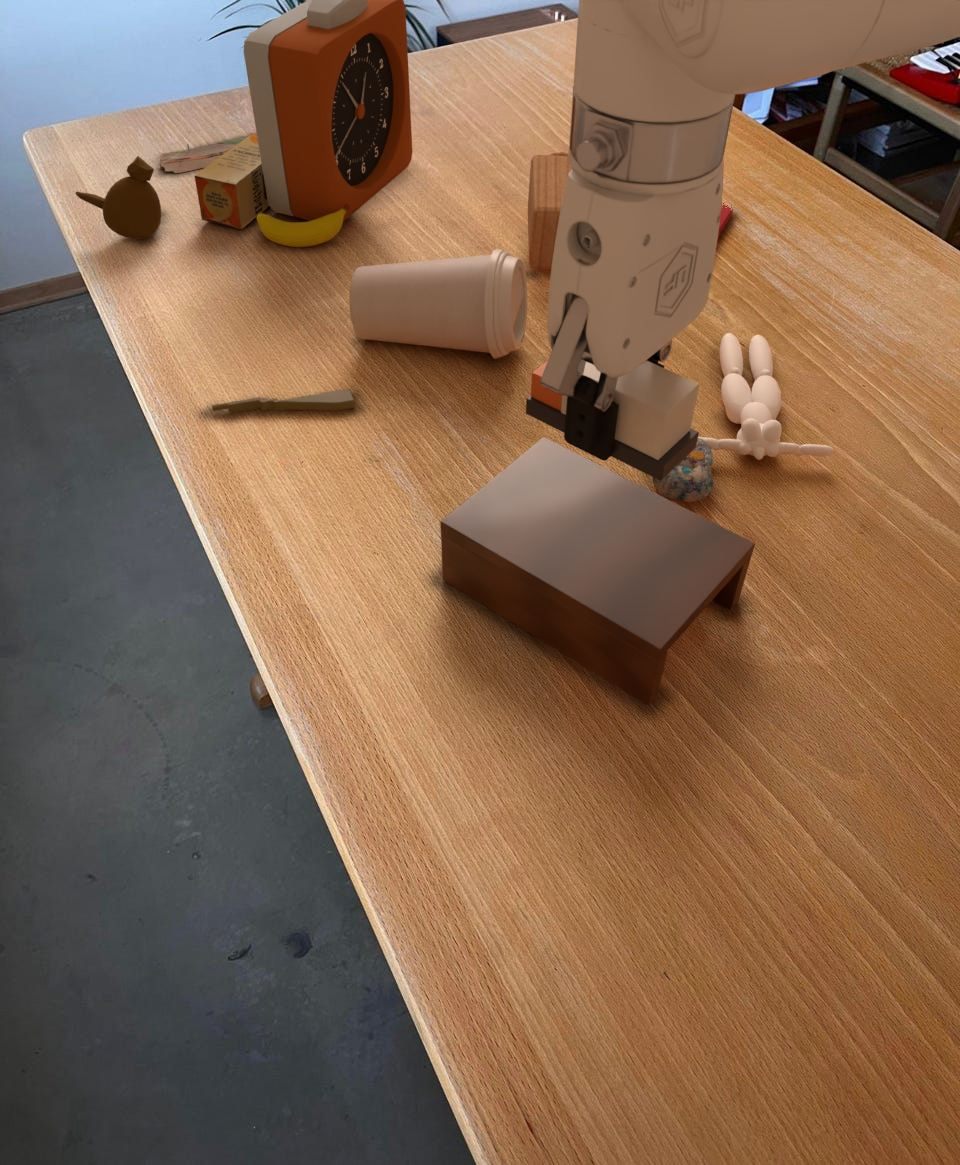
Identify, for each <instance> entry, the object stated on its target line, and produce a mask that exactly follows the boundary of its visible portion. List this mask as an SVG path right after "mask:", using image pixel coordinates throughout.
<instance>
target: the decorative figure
mask: <svg viewBox="0 0 960 1165" xmlns="http://www.w3.org/2000/svg"><path fill="white" fill-rule="evenodd" d="M743 357H744V356H743V351H742V347H741V345H740V342H739V340H738V338H737V336H736V335H734V334H733V333H731V332H727V333H725V334H724V335H723V336H722V338H721V341H720V344H719V364H720V368H721V373H722V375H723V379H722V382H721V386H720V394H721V400H722V403H723V406H724V408H725V415H726V417H727V419H728V420H729V421H730V422H731V423H733V424H737V425H741V426H740V429H739V430H738V432H737V434H736V439H735V438H720V439H716V438H714V437H705V436H698V438H700V439H702V440H704V441H705V442H707V443H708V445H709V446H710V447H711V450H714V451H716V452H717V451H720V450H722V451H730V452H731V451H733V452H734V451H735V452H739V454H740V455H744V456H746V455H749V456H753V457H754V458H755V459H756V460H757V461H760V460H762V459H763V458H764V457H769V458H775V457H777V456H778V455H779V454H780V455H796V456H798V457H802V456H803V455H804V456H811V457H829V456H831V455H833V453H834V451H835V450H834V448H833V447H832V446H830V445H826V444H814V443H805V444H801V445H800V444H798V443H795V442H786V441H785V442H781V438H780V437H781V435H782V433H783V432H782V430H783V427H782V424H781V423H780V421H778V420H777V417H778V415H779V413H780V411H781V407H782V392H781V388H780V385H779V383H778V381H777V380H776V379H775V378H774V377H773V373H774V362H773V354H772V350H771V347H770V345H769V343H768V341H767V340H766V338H765V337H764V336H763V335H761V334H756V335H753V336H752V338H751V339H750V342H749V346H748V361H749V368H750V371H751V375H752V377H753V379H754V382H753V384H752V387H751V388H750V385H749V383H748V382H747V380H746V378H744V376H743V370H744V359H743Z"/></svg>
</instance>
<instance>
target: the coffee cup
mask: <svg viewBox="0 0 960 1165" xmlns="http://www.w3.org/2000/svg"><path fill="white" fill-rule="evenodd" d="M350 280H351V281H350V285H349V294H348V295H349V296H348V301H349V302H348V303H349V304H348V305H349V314H350V321H351V325H352V328H353V331H354V333H355V334H356V336H357V337H358V338H359V339H360V340H361V339H362V340H368V341H377V342H378V341H379V342H387V343H389V342H390V343H397V344H406V345H407V344H408V345H416V346H423V347H424V346H425V347H435V348H444V349H452V350H463V351H470V352H477V353H478V352H479V353H486V354H490V355H491V357H492V358H493V359H500V358H503V357H504V356H505V357H506V356H507V355H509V354H510V353H511V352H515V351H518V350H520V349H521V347H522V345H523V343H524V339H525V335H526V327H527V319H528V282H527V281H528V280H527V272H526V268H525V264H524V262H523V260H522V259H521V258H519V257H517V256H512V255H511V253H510V252H508V251H506V250H503V249H500V248H495V249H493V251H492V252H491V254H482V255H471V256H461V257H451V258H440V259H430V260H429V259H428V260H420V261H419V260H417V261H407V262H397V263H386V264H385V263H384V264H374V265H363V266H358V267H357V268H356V269H355V270H354V272H353V274H352V277H351V279H350Z"/></svg>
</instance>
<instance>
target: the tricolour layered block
mask: <svg viewBox="0 0 960 1165" xmlns="http://www.w3.org/2000/svg"><path fill="white" fill-rule="evenodd" d="M547 362H548V360H547V361H546V362H543V364H541V365H540V366H539V367H538V368H536V369H535V370H534V371H532V372H531V380H530V382H531V383H530V384H531V385H530V387H531V388H530V395H529V396H528V397H526V401H525V414H526V415H527V416H530V417H531V418H534V419H535V420H538V421H540V422H541V423H544V424H546V425H548V426H549V427H551V428H554V429H556V430H558V431H560V432H562V433H564V430H565V418H566V406H567V396H563V395H559V394H557V393H555V392H553V391H551V390H549V389H547V388H545V387H542V386H541V384H540V381H541V377H542V375H543V372H544V370H545V367H546V365H547ZM600 374H601V372H600V371H597V369H596V367H595V365H593V364H591V363H588V362H586V364H585V368H584V373H583V375H585V376H587V377H589V378H591V379H592V380H594V381H595V382H597V383H599V378H600ZM699 388H700V383H698V382H696V381H694V380H692V379H689V378H687V377H685V376H682V375H680V374H678V373H676V372H674V371H671V370H669V369H667V368H665V367H664V368H662V367H660V366H658V365H656V364H653V363H651V362H649V361H647V360H646V361H645V362H643V363H642V364H641V365H640V366H638V367H637V368H636V369H634V370H633V371H631V372H630V373H628V374H626V375H624V376H621V377H618V380H617V384H616V389H615V393H614V397H613V401H614V402H616V403H617V404H619V408H618V416H617V423H616V431H615V438H614V446H613V453H612V455H611V456H610V457H612V458H614V459H616V460H618V461H619V462H621V463H623V464H626V465H627V466H629V467H632V468H634V469H635V470H638V471H639V472H641V473H643V474H645V475H647V476H649V477H652V478H653V477H654V478H656V479H658V480H660V481H661V480H663V479H664V478H665V477H666V476H667V475H668V474H669V473H670V472H671V471H672V470H673V469H674V468H675V467H676V466H677V465H678V464H679V463H680V462H681V461H682V460H683V459H684V458H685V457H686V456H687V455H689V454H690V453H691V452H692V451H693V450H694V449H695V448H696V444H697V440H698V437H699V435H700V433H699V431H697V430H695V429H693V428H692V424H693V418H694V414H695V409H696V403H697V400H698V394H699Z"/></svg>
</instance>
